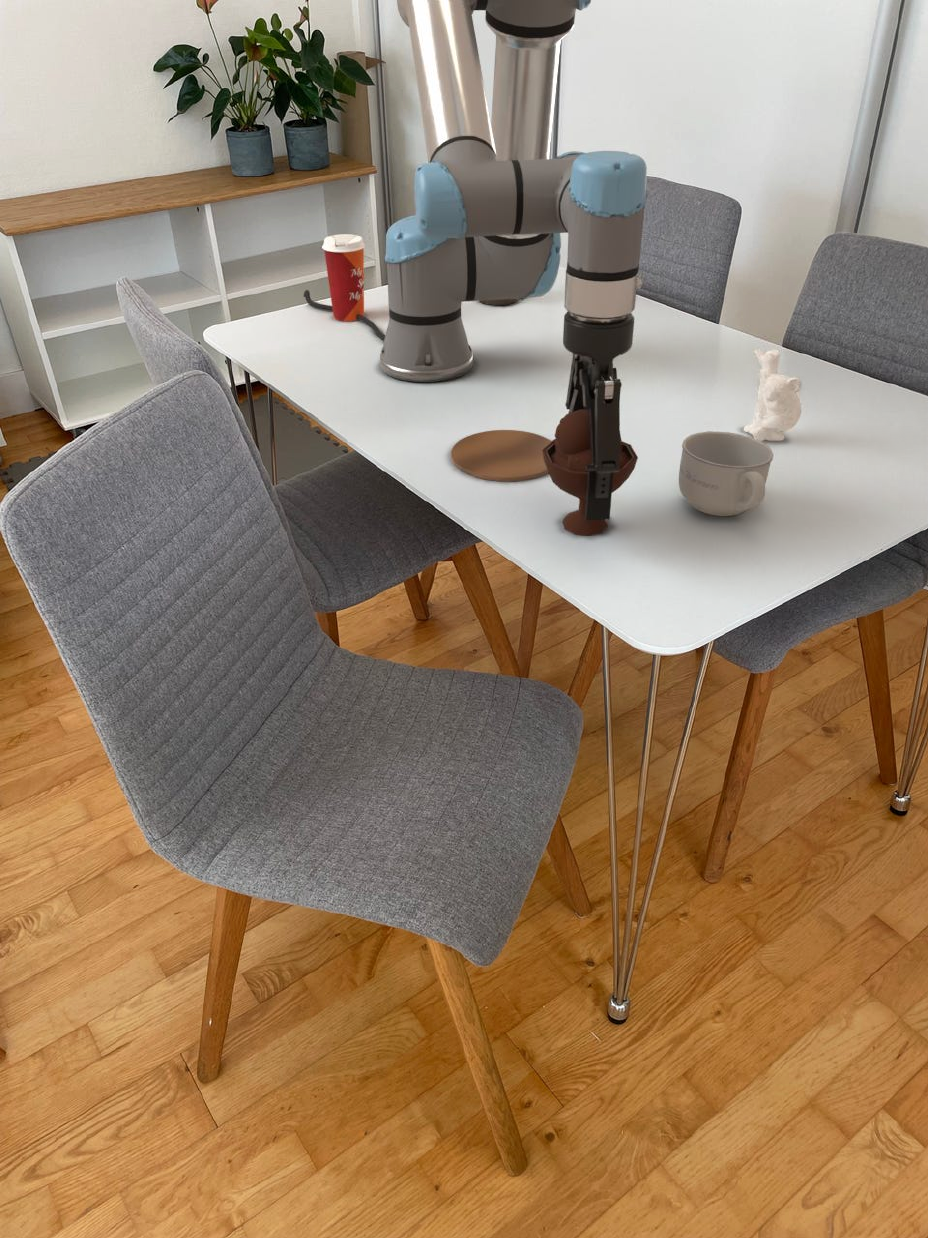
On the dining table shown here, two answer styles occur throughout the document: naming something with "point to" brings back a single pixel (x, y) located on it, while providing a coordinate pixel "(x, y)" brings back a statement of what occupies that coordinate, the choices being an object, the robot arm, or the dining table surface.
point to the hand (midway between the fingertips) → (586, 494)
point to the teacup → (723, 472)
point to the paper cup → (345, 275)
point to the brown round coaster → (501, 455)
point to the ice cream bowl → (580, 468)
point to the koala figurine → (774, 400)
